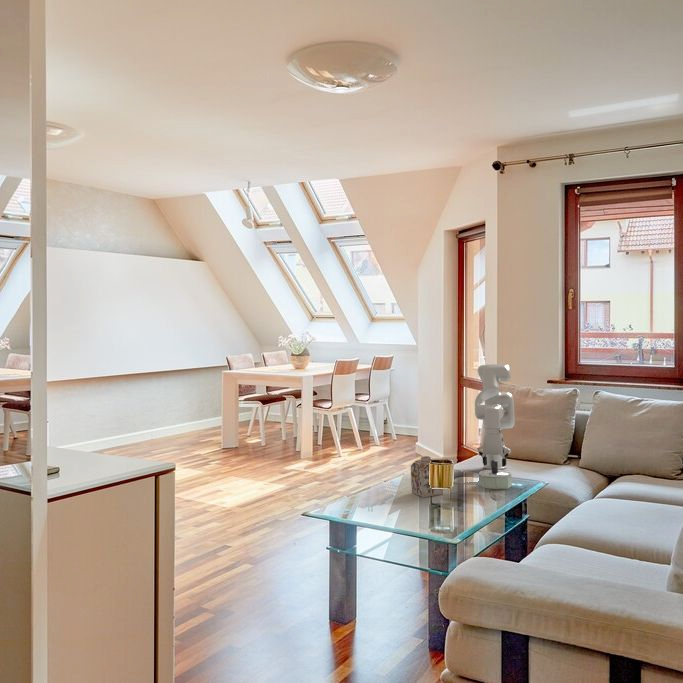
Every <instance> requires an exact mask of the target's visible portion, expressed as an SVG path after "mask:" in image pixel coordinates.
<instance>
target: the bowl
mask: <svg viewBox="0 0 683 683" xmlns="http://www.w3.org/2000/svg"><path fill="white" fill-rule="evenodd" d="M478 477H479V484H478V485H479V487H482V488H483V489H493V490H494V489H495V490H499V489H501V490H508V489H510V488H511V486H512V487H513V479H512V477H513V476H512V474H511V475H510V476H507V477H500V478H489V477H482V476H480V475H479V474H478Z"/></svg>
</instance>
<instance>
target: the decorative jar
mask: <svg viewBox="0 0 683 683" xmlns="http://www.w3.org/2000/svg"><path fill="white" fill-rule="evenodd" d="M431 458H432V457H431V456H427V455H423V456H421V457H420V459H417V460H415V461H413V462H412V463H411V465H410V482H411V493H412V494H414V495H415V496H416V495H417V496H419V497H421V498H428V497H435V496H440V495H444V488H443V489H431V488H430V485H429V463H430V461H431V460H432V459H433V458H432V459H431Z"/></svg>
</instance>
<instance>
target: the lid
mask: <svg viewBox="0 0 683 683" xmlns="http://www.w3.org/2000/svg"><path fill="white" fill-rule="evenodd" d="M479 475H480V476H482V477H489V478H500V477H507V476H510V475H511V476H512V472H511V471H509V470H506V469H498V461H497V460H491V469H484V470H481V471H479V472H478V476H479Z"/></svg>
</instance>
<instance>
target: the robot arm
mask: <svg viewBox="0 0 683 683" xmlns="http://www.w3.org/2000/svg"><path fill="white" fill-rule="evenodd" d="M477 373H478V377H479V379H480V381H481V382H482V390H481V391H479V393H478V394H477V396H476V397H475V399H474V415H475V417H476V419H477V420H482V422H483V429H484V434H483V441H482V446H479V447H477V449H476V450H477V452H478V454H479V455H480V456H481V458H482V464H483V468H484V469H485V470H491V460H497V461H498V470H506V469H507V467H508V466H507V458H508V457H509V456H510V453H511V452H512V449H510V448H508V446H507V447H506V445H505V440H504V439H505V438H504V434H502V433H504V429H513V427H515V424H516V421H515V418H516V417H515V402H514V396H513V394H512V393H510V392H500V383H501V382H509V381H510V380H511V378H512V377H511V376H512V372H511V367H510V365H509V364H507V363H497V364H495V363H494V364H493V363H491V364H482V365H479V366H478V367H477ZM483 402H484V404H482V403H483ZM504 410H505V411H504Z"/></svg>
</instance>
